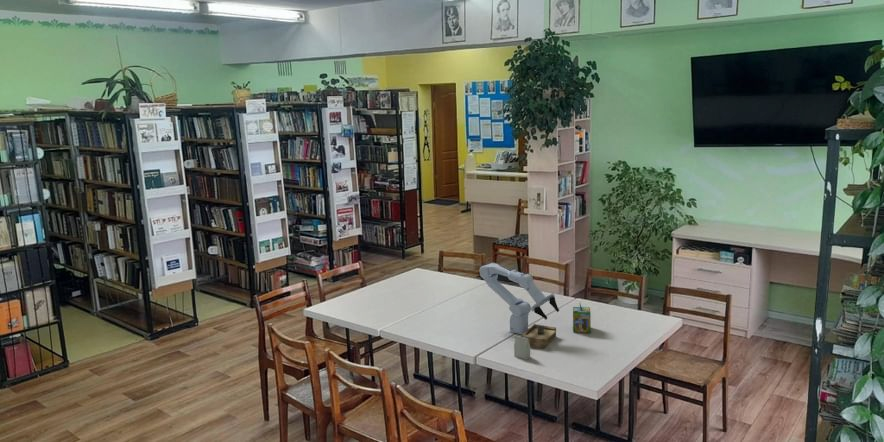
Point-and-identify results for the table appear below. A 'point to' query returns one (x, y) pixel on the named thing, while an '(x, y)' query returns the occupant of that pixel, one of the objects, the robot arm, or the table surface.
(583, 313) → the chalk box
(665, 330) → the table surface
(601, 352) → the table surface
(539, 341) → the box
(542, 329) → the lid
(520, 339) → the grey upright block
